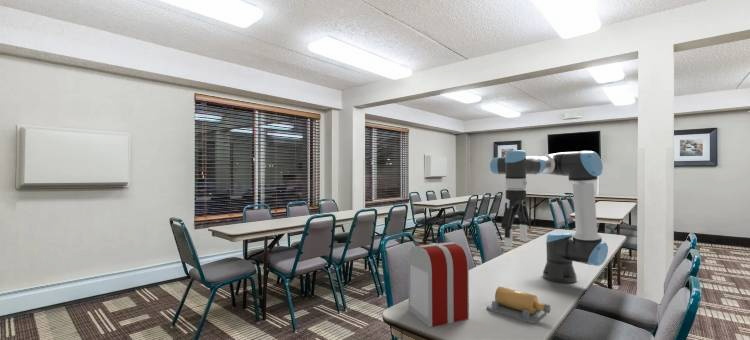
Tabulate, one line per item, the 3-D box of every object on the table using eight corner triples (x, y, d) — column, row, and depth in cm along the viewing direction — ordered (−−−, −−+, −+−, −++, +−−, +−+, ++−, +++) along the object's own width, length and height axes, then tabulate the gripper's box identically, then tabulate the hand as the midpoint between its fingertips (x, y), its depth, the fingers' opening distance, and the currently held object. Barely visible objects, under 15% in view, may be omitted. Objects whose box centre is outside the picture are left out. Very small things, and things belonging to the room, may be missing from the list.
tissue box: (407, 309, 133) (407, 242, 134) (444, 302, 140) (444, 238, 140) (430, 327, 118) (429, 251, 118) (470, 318, 125) (469, 246, 125)
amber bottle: (495, 306, 134) (494, 289, 134) (503, 300, 139) (502, 284, 139) (545, 321, 120) (545, 302, 120) (552, 315, 125) (552, 296, 125)
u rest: (486, 309, 133) (486, 300, 133) (501, 300, 142) (501, 292, 142) (533, 324, 120) (533, 314, 120) (546, 313, 129) (546, 304, 129)
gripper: (511, 191, 120) (511, 250, 120) (537, 188, 138) (538, 240, 137) (491, 190, 126) (492, 246, 126) (519, 187, 143) (520, 237, 143)
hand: (516, 243), depth 132 cm, fingers open, 13 cm apart
